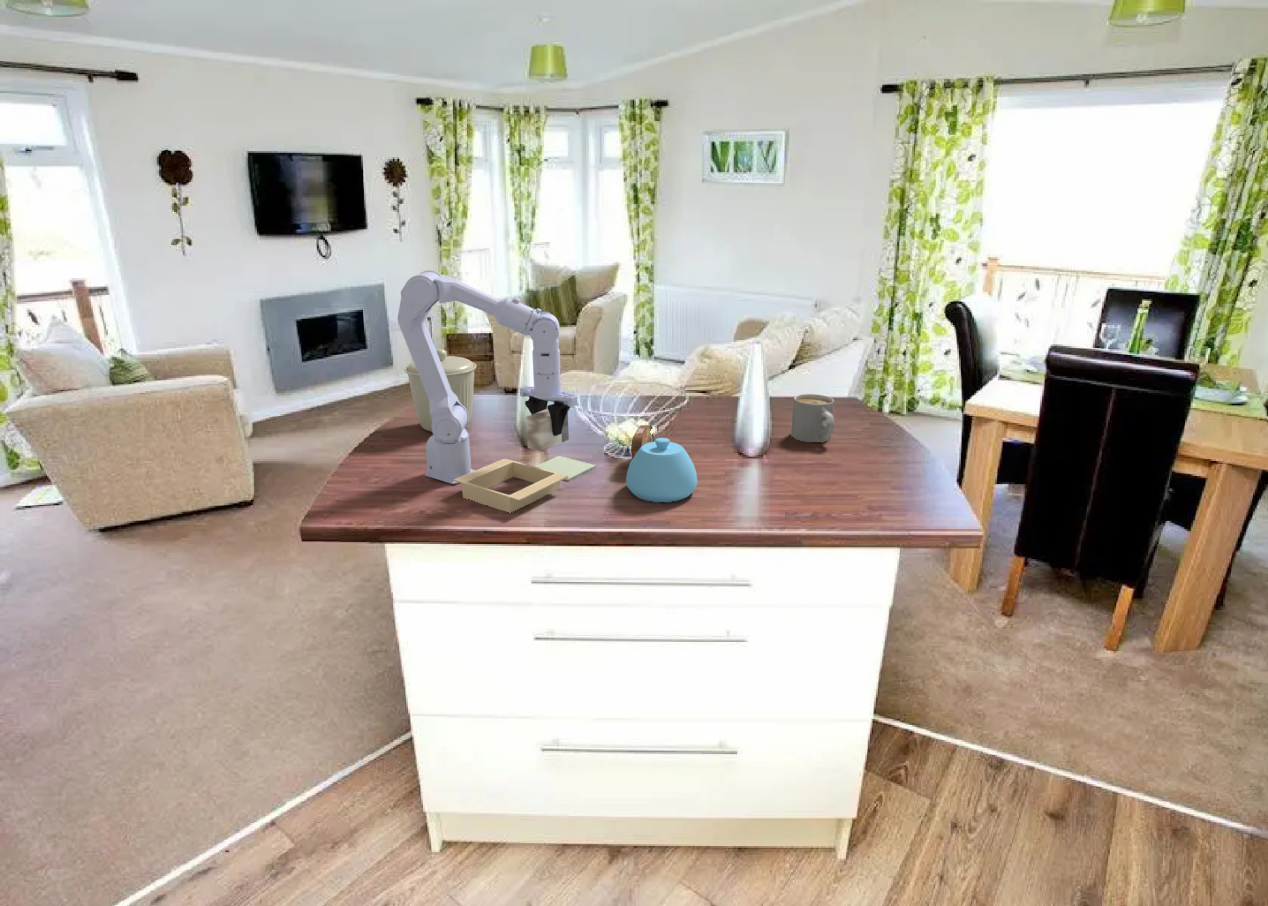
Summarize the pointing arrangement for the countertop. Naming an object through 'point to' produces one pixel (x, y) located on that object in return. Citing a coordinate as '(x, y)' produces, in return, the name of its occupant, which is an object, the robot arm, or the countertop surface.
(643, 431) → the tin
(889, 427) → the countertop surface
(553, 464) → the mat
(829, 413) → the coffee mug
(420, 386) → the canister
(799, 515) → the countertop surface
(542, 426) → the box
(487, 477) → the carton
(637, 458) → the sugar bowl
